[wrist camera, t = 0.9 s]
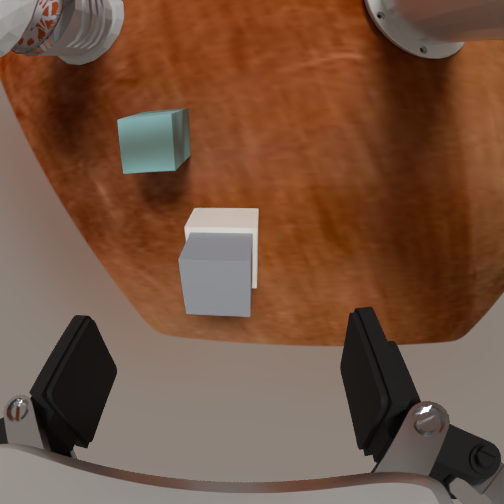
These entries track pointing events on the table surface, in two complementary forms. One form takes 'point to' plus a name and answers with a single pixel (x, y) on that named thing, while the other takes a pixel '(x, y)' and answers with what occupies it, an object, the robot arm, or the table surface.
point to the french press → (60, 27)
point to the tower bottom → (227, 226)
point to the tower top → (217, 273)
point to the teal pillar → (154, 140)
